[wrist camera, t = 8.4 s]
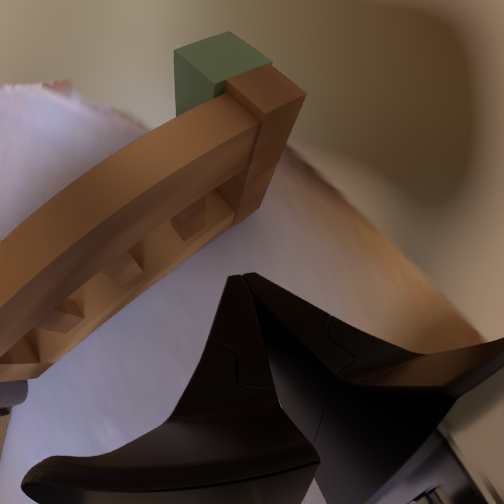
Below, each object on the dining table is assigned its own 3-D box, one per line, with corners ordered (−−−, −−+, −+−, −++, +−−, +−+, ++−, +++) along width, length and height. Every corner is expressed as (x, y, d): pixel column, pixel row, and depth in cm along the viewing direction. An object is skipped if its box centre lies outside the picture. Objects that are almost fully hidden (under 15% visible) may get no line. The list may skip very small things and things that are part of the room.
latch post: (205, 209, 17) (214, 84, 8) (180, 179, 17) (173, 50, 8) (239, 187, 17) (272, 61, 9) (214, 159, 18) (229, 31, 9)
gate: (37, 379, 12) (-77, 388, 4) (21, 351, 12) (-94, 337, 4) (259, 207, 17) (306, 94, 9) (238, 184, 17) (268, 63, 9)
